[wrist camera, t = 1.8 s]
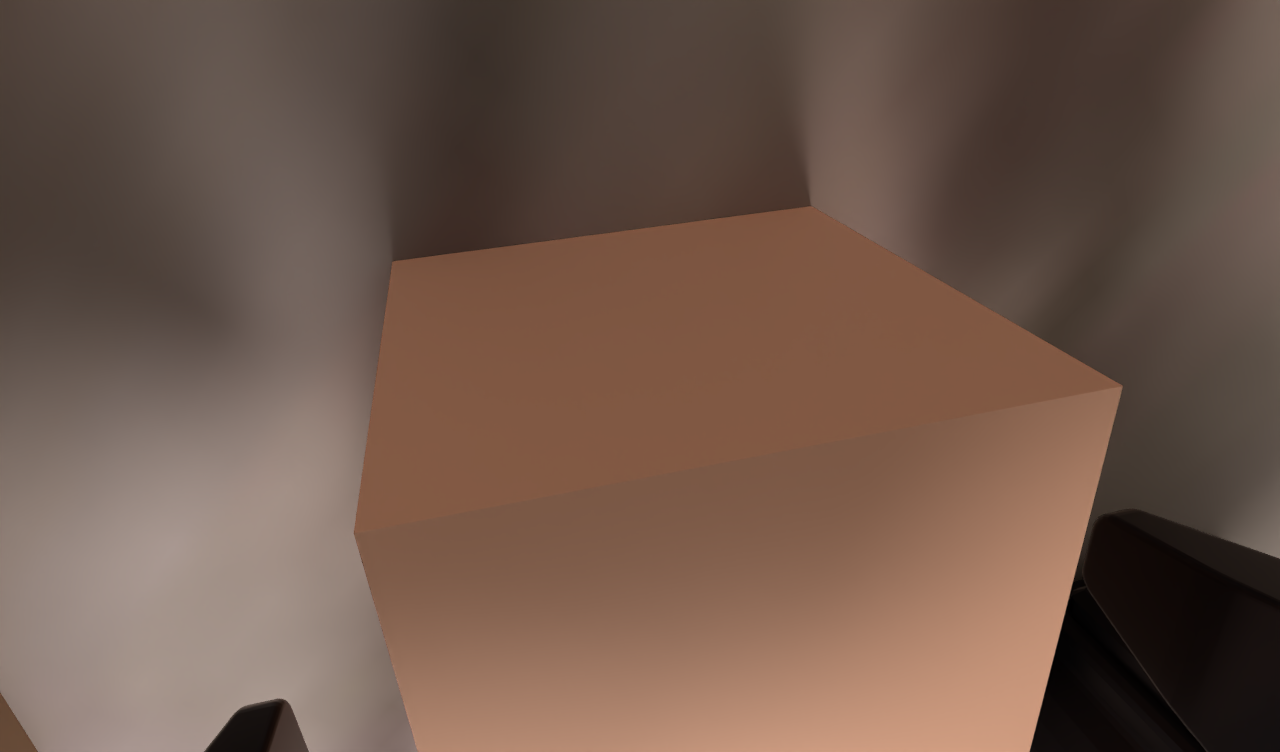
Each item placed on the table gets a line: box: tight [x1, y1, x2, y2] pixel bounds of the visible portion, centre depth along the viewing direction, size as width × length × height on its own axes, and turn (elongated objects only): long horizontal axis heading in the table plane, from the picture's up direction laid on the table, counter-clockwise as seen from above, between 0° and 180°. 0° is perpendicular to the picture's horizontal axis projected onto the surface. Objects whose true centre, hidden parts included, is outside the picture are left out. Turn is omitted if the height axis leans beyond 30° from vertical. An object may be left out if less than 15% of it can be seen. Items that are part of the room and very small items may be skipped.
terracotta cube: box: [354, 206, 1123, 752], centre depth 10 cm, size 6×6×6 cm
